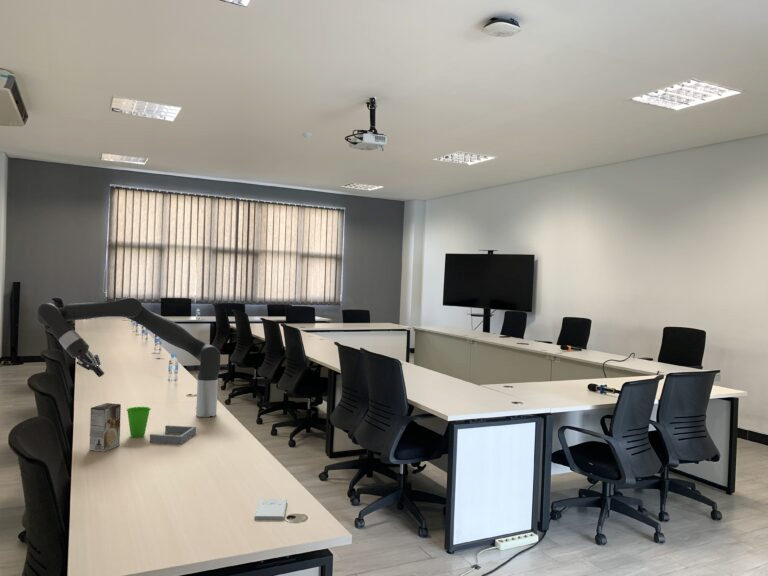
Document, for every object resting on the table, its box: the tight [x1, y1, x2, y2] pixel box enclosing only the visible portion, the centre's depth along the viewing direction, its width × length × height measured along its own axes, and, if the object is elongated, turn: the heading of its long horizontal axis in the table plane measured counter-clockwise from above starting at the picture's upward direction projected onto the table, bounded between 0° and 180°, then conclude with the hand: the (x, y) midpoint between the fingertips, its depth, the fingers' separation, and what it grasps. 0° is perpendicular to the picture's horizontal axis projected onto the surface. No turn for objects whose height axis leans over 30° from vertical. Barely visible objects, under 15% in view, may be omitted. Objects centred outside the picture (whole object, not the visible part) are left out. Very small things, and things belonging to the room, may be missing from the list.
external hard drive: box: [253, 498, 288, 521], centre depth 167 cm, size 2×8×12 cm
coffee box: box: [88, 402, 122, 453], centre depth 218 cm, size 9×6×16 cm
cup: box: [126, 406, 152, 439], centre depth 236 cm, size 9×9×11 cm
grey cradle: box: [149, 424, 197, 445], centre depth 235 cm, size 15×13×3 cm
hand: (101, 375), depth 236 cm, fingers closed
